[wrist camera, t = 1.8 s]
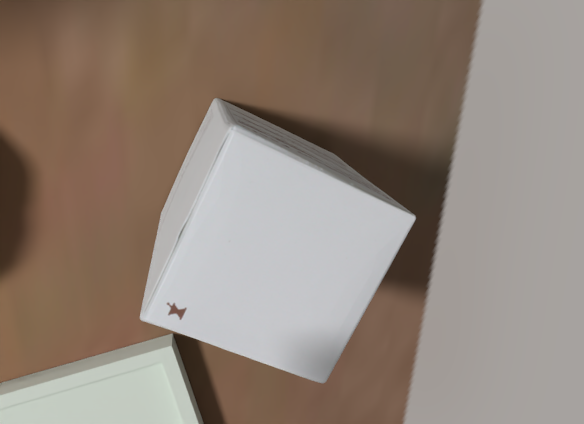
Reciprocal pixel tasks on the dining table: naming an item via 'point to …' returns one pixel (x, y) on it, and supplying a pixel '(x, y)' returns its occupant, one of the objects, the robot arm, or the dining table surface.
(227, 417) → the dining table surface
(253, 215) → the supplement box
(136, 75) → the dining table surface
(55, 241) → the dining table surface
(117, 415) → the pale green square tray
